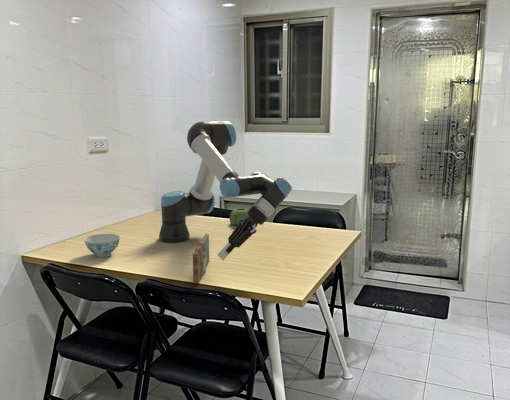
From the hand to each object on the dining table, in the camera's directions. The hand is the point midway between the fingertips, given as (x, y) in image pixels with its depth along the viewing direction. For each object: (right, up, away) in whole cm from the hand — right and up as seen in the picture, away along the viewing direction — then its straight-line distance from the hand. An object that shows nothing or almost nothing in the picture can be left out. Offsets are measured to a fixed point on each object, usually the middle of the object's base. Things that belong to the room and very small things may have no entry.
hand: (220, 257), depth 179 cm
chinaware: (-55, -3, +30) cm, 62 cm away
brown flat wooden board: (-8, -7, +2) cm, 11 cm away
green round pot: (+5, +8, +84) cm, 85 cm away
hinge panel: (-7, -6, +14) cm, 17 cm away
